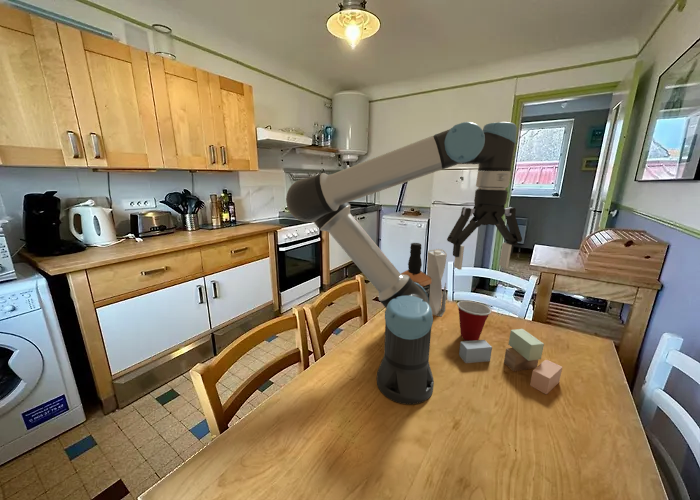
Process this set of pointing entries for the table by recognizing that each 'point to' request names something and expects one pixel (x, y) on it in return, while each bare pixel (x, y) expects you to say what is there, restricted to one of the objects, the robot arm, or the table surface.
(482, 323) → the plastic cup
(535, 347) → the sage block
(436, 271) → the skyscraper
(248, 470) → the table surface
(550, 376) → the terracotta block
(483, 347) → the slate block
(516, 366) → the walnut block
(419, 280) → the whiskey bottle
